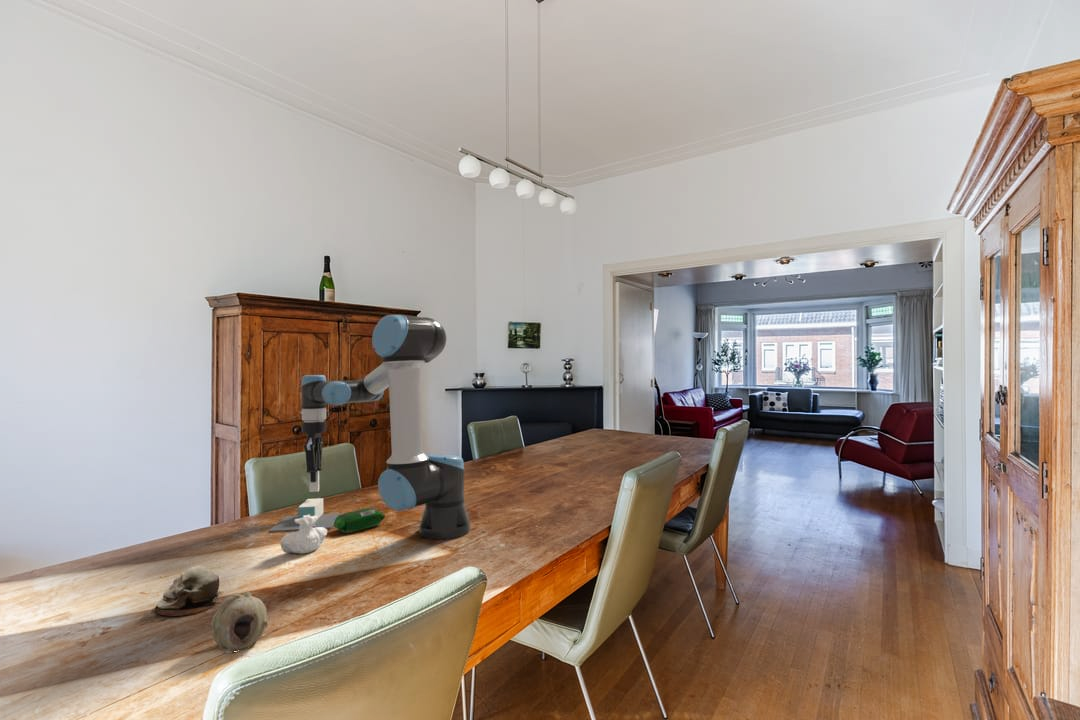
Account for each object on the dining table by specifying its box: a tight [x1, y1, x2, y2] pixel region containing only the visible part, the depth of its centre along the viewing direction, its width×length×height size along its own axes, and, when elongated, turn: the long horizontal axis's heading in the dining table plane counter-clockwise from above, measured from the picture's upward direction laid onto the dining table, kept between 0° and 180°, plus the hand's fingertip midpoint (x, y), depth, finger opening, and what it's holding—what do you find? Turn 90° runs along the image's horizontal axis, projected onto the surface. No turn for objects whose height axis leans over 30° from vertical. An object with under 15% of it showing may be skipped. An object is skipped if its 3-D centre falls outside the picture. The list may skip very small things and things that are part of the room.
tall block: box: [297, 497, 324, 521], centre depth 161 cm, size 5×5×10 cm
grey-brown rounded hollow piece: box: [211, 591, 270, 654], centre depth 90 cm, size 9×8×10 cm
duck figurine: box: [279, 514, 328, 555], centre depth 134 cm, size 12×8×11 cm
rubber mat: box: [268, 512, 344, 533], centre depth 158 cm, size 14×18×1 cm
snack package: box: [333, 507, 386, 534], centre depth 153 cm, size 7×16×5 cm, turn 134°
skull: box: [154, 565, 223, 617], centre depth 105 cm, size 12×10×10 cm
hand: (314, 491), depth 165 cm, fingers closed
